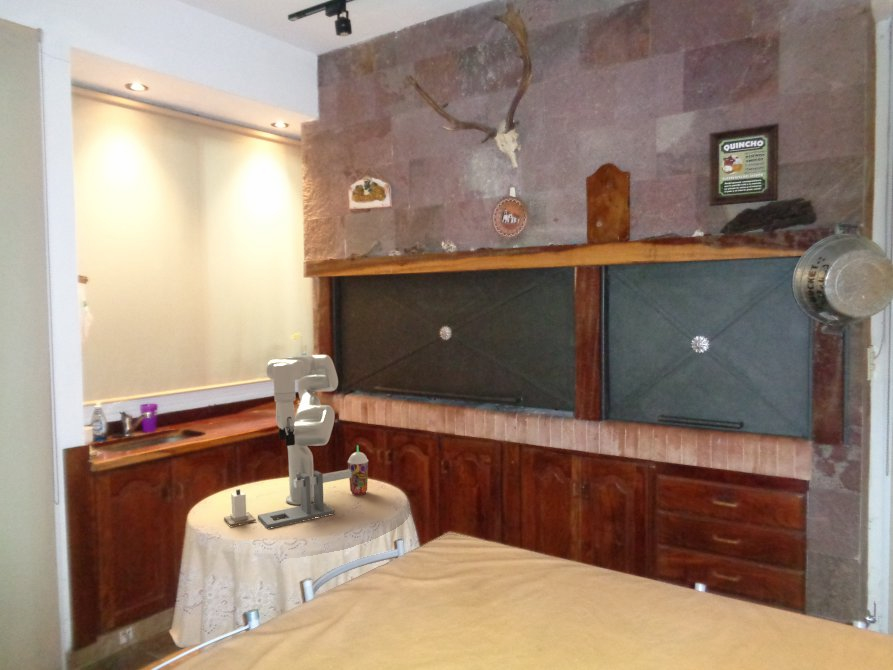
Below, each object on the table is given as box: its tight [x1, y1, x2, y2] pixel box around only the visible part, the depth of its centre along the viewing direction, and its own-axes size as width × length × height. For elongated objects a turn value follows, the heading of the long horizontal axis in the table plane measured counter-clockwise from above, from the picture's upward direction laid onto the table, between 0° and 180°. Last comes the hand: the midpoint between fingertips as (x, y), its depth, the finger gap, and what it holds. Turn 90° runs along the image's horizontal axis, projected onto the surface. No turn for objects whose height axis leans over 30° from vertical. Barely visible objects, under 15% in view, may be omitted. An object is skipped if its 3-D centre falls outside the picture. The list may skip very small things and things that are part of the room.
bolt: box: [294, 468, 352, 488], centre depth 243 cm, size 3×22×5 cm, turn 123°
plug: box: [229, 488, 248, 522], centre depth 235 cm, size 5×5×10 cm
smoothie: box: [347, 444, 369, 496], centre depth 264 cm, size 8×8×20 cm
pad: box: [223, 511, 257, 527], centre depth 236 cm, size 9×9×1 cm
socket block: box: [257, 470, 335, 529], centre depth 239 cm, size 12×25×15 cm, turn 123°
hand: (287, 442), depth 239 cm, fingers open, 9 cm apart
